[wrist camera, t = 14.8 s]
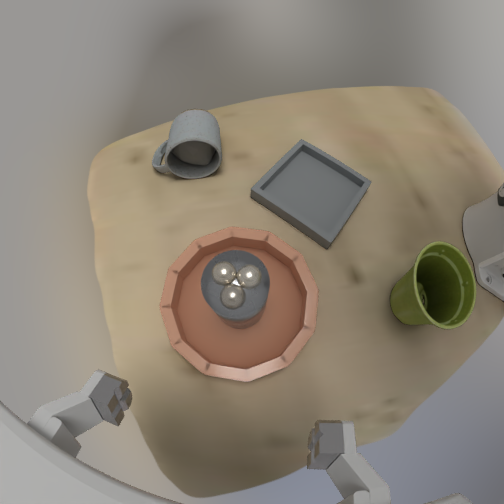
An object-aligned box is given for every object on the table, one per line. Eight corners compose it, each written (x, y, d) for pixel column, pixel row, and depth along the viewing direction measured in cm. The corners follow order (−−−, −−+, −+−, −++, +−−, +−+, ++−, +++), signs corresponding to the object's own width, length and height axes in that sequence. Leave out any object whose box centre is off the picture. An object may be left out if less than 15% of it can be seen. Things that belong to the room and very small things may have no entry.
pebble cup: (275, 300, 30) (285, 272, 20) (244, 339, 28) (239, 329, 19) (237, 271, 31) (229, 232, 22) (205, 308, 29) (183, 283, 20)
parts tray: (367, 189, 36) (371, 181, 34) (327, 249, 33) (331, 242, 31) (299, 147, 39) (301, 139, 37) (250, 197, 36) (250, 188, 34)
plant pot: (439, 332, 28) (481, 320, 20) (382, 343, 28) (421, 335, 20) (429, 266, 32) (466, 241, 24) (373, 269, 32) (405, 241, 24)
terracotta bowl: (336, 293, 31) (345, 285, 27) (251, 404, 26) (251, 410, 23) (231, 218, 35) (229, 203, 31) (145, 314, 30) (133, 308, 27)
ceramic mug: (221, 136, 40) (215, 99, 33) (225, 175, 37) (218, 136, 30) (157, 147, 40) (143, 113, 33) (153, 187, 37) (134, 152, 30)
